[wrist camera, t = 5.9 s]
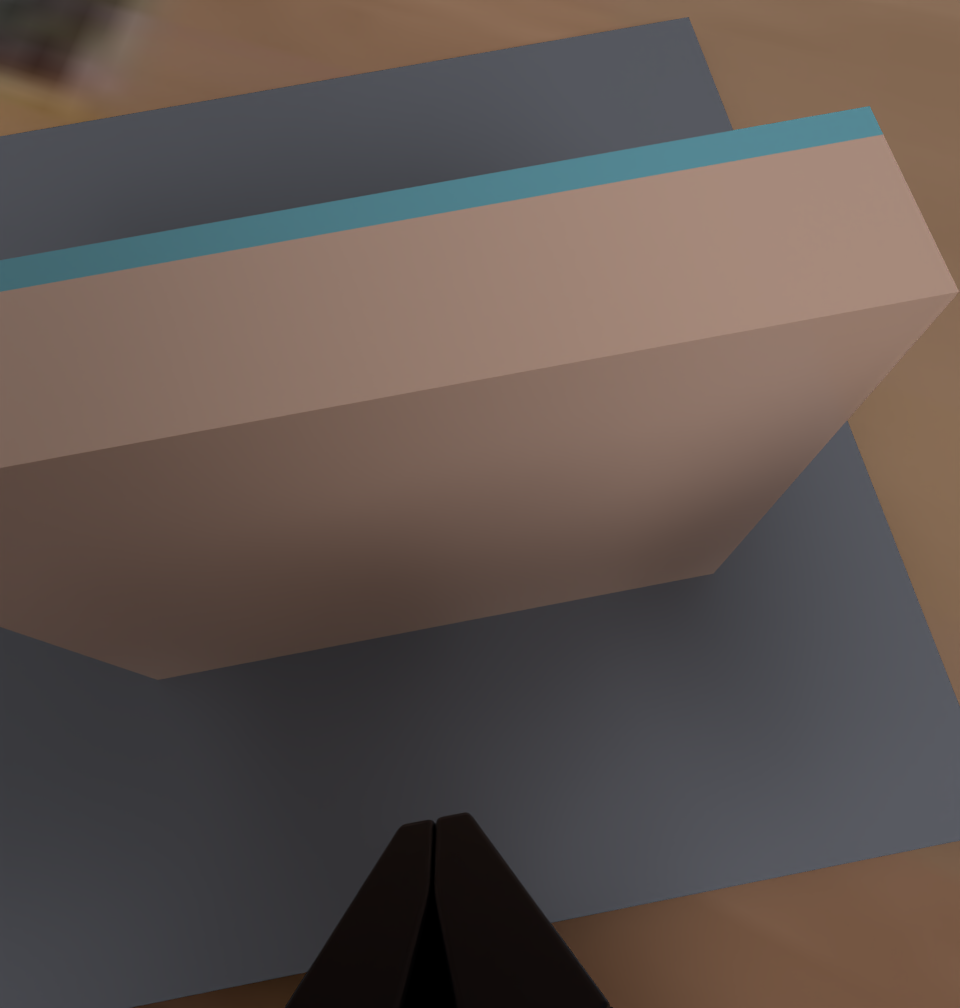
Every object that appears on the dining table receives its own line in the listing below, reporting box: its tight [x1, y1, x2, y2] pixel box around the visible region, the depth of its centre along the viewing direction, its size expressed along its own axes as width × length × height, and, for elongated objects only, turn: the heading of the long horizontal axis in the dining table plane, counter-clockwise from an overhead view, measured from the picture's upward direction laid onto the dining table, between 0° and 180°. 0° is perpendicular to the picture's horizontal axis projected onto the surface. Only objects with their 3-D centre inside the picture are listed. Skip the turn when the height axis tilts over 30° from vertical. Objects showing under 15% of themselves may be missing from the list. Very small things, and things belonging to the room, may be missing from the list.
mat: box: [0, 17, 960, 1008], centre depth 19 cm, size 22×20×1 cm
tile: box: [0, 106, 959, 680], centre depth 12 cm, size 2×12×10 cm, turn 100°
